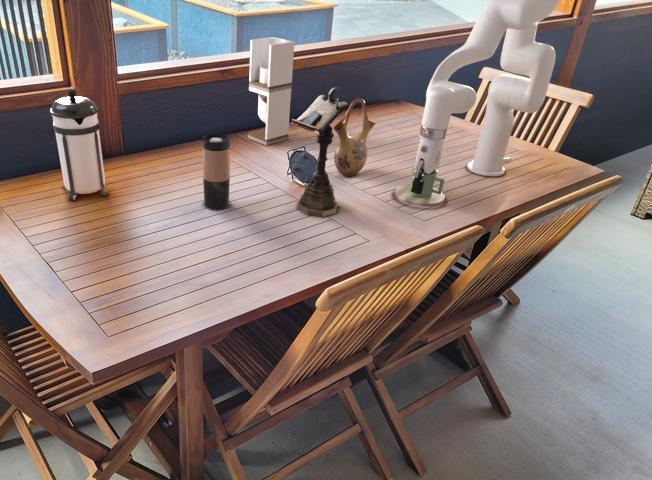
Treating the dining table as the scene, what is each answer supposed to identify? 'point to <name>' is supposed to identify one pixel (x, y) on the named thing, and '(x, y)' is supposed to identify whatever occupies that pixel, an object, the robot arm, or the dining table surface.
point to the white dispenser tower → (271, 86)
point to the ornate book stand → (320, 154)
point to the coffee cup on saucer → (423, 191)
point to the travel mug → (216, 170)
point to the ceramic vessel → (352, 143)
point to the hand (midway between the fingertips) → (421, 188)
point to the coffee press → (79, 145)
